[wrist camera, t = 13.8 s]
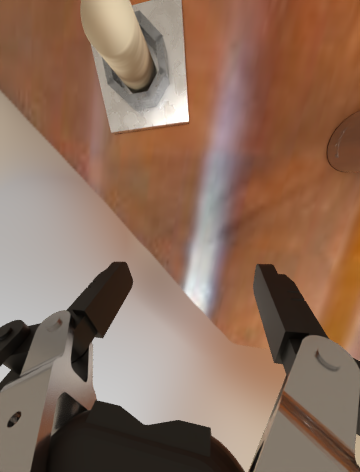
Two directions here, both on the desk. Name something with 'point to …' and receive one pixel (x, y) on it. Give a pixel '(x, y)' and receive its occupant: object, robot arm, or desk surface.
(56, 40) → the desk surface
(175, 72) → the socket plate
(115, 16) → the cream rounded cylinder
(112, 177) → the desk surface
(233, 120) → the desk surface
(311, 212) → the desk surface
